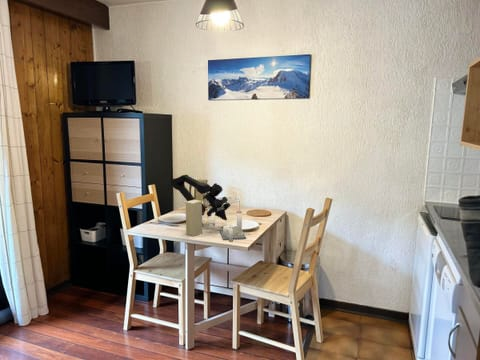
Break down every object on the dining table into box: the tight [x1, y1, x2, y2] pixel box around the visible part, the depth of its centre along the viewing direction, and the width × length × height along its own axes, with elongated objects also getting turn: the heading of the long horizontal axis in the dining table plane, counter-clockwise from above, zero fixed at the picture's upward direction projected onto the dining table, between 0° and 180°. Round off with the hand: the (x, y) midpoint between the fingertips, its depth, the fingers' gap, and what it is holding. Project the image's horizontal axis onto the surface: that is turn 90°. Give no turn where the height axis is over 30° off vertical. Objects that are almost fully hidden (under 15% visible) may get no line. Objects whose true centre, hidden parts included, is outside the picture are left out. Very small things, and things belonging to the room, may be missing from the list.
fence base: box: [222, 224, 234, 243], centre depth 210 cm, size 10×4×8 cm, turn 25°
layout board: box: [219, 229, 247, 241], centre depth 217 cm, size 16×14×1 cm
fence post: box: [229, 209, 243, 234], centre depth 214 cm, size 8×3×15 cm, turn 117°
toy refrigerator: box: [185, 199, 203, 237], centre depth 218 cm, size 8×7×21 cm
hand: (226, 220), depth 221 cm, fingers closed
